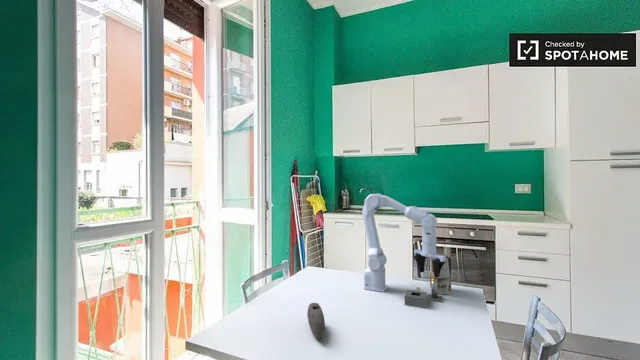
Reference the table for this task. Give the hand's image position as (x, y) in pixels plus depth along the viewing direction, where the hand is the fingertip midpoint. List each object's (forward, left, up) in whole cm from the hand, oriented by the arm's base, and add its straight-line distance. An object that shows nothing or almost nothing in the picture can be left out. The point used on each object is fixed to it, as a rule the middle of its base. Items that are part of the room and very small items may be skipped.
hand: (429, 274), depth 122 cm
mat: (+2, 0, -10) cm, 10 cm away
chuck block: (-5, -4, -10) cm, 12 cm away
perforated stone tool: (-33, -45, -10) cm, 56 cm away
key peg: (+2, 0, -9) cm, 10 cm away
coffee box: (+4, +10, -10) cm, 15 cm away
